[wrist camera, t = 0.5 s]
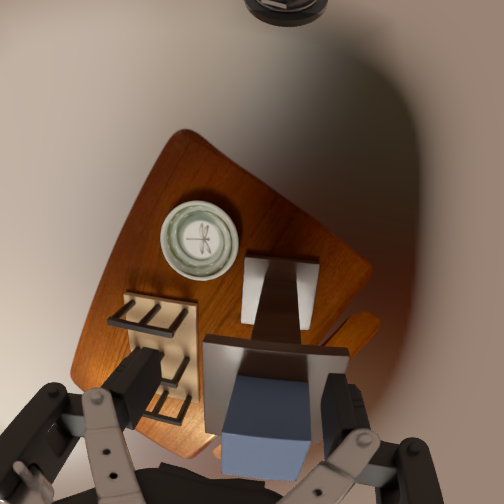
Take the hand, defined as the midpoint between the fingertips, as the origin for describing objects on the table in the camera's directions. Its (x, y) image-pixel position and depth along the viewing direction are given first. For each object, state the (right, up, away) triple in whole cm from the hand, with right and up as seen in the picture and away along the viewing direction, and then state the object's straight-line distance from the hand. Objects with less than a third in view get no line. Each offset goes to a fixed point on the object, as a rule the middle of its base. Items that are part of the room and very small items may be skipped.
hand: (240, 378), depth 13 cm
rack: (-13, -9, +29) cm, 33 cm away
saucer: (-6, +8, +24) cm, 26 cm away
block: (+2, -4, +5) cm, 7 cm away
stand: (+4, +1, +24) cm, 25 cm away
